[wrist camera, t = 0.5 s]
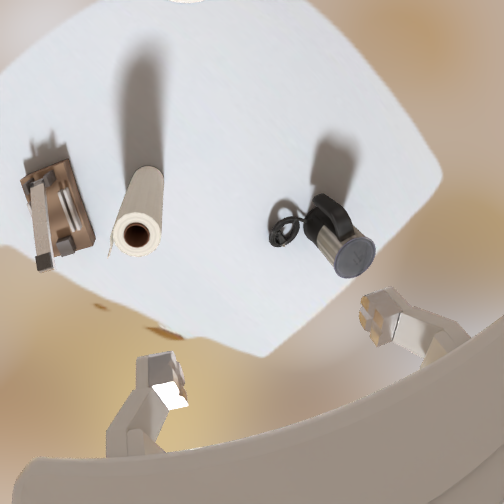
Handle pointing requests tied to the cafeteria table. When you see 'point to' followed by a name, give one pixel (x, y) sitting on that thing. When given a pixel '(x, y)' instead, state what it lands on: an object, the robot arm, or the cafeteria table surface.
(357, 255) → the milk frother
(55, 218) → the wooden base lever press
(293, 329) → the cafeteria table surface
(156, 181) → the paper towel roll
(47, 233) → the beige-grey bar
